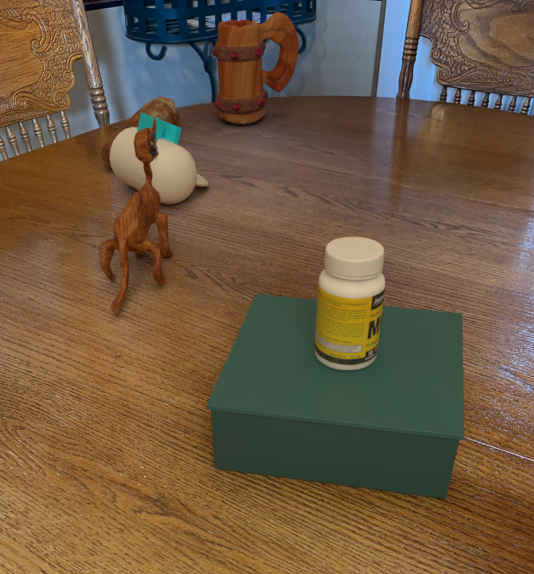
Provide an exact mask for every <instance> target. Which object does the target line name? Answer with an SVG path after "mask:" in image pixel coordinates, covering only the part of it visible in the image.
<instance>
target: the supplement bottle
mask: <svg viewBox="0 0 534 574" xmlns="http://www.w3.org/2000/svg"><path fill="white" fill-rule="evenodd" d="M384 259H385V249H384V246H383V244H381V243H380V242H378V241H377V240H374V239H372V238H367V237H362V236H344V237H339V238H335V239H332V240H331V241H329V242H328V243H327V244H326V245H325V249H324V261H323V264H324V267H323V268H324V269H323V270H321V272H320V274H319V275H318V282H317V299H316V300H317V316H316V333H315V355H316V357H317V359H318V360H319V361H320V362H321V363H322V364H324V365H326V366H328V367H330V368H333V369H338V370H358V369H362V368H365V367H367V366H369V365H370V364H372V363H373V362H374V360H375V359H376V356H377V350H378V343H379V334H380V326H381V318H382V311H383V306H384V300H385V293H386V279H385V278H386V277H385V275H384V273H382V272H383V268H384V265H385V264H384Z"/></svg>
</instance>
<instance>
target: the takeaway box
mask: <svg viewBox="0 0 534 574" xmlns="http://www.w3.org/2000/svg"><path fill="white" fill-rule="evenodd" d="M316 316H317V299H316V298H305V297H295V296H294V297H293V296H283V295H273V294H263V293H262V294H261V293H255V294H254V296H253V299H252V302H251V304H250V306H249V308H248V311H247V313H246V315H245V317H244V320H243V322H242V324H241V327H240V328H239V331H238V333H237V335H236V338H235V339H234V342H233V344H232V347H231V349H230V351H229V354H228V356H227V358H226V359H225V362H224V365H223V367H222V369H221V372H220V373H219V376H218V378H217V380H216V383H215V385H214V387H213V389H212V391H211V394H210V396H209V399H208V400H207V403H206V404H205V405H206V410H207V411H210V421H211V435H212V450H213V451H212V452H213V464H214V465H213V466H214V469H217V470H223V471H232V472H239V473H247V474H253V475H254V474H255V475H262V476H270V477H277V478H284V479H292V480H299V481H307V482H314V483H322V484H323V483H324V484H330V485H338V486H345V487H352V488H360V489H367V490H374V491H381V492H390V493H397V494H403V495H404V494H405V495H412V496H413V495H414V496H421V497H428V498H429V497H430V498H434V499H435V498H436V499H443V500H446V498H447V495H448V491H449V487H450V483H451V478H452V475H453V470H454V465H455V462H456V457H457V452H458V448H459V444H460V441H464V439H465V400H464V399H465V393H464V392H465V390H464V388H465V386H464V385H465V383H464V331H463V330H464V328H463V325H464V324H463V323H464V322H463V313H462V312H453V311H443V310H432V309H422V308H421V309H420V308H411V307H401V306H399V307H398V306H391V305H390V306H389V305H383V311H382V318H381V326H380V334H379V343H378V350H377V356H376V359H375V360H374V362H373V363H372V364H370V365H369V366H367V367H365V368H362V369H358V370H338V369H333V368H330V367H328V366H326V365H324V364H322V363H321V362H320V361H319V360H318V359H317V357H316V355H315V333H316Z"/></svg>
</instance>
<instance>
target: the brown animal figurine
mask: <svg viewBox="0 0 534 574" xmlns="http://www.w3.org/2000/svg"><path fill="white" fill-rule="evenodd" d="M156 142H157V139H156V119H155V118H154V119H153V126H152V128H148V127H146V128H144V129H141V130H139V131H138V132H137V133H136V134H135V137H134V149H135V155H136V157H137V158H138V160H139V161H141V162H143V168H144V172H145V176H146V180H145V184H144V186H143V187H142V188H141V189H140V190H137V191H136V192H133V194H132V195H131V196H130V198H129V199H128V201H127V203H126V205H124V208H123V209H122V211H121V212H120V213H119V215H118V216H117V217H116V218H115V219H114V221H113V226H112V231H113V238H109V239H106V240H104V241H102V242H101V243H100V245H99V247H98V254H99V266H100V269H101V270H102V272H103V274H104V275H105V276H106V278H107V280H109V281H110V282H111V283H113V282H114V281H115V279H116V274H115V273H113V271H112V268H111V262H112V259H113V257H114V253H115V251H119V252H118V253H119V261H120V283H119V286H118V287H119V289H118V291H117V294H116V296H115V298H114V300H113V302H112V304H111V306H110V311H111V312H115V313H116V312H118V310H119V309H120V308H121V306H122V305H123V303H124V301H125V299H126V296H127V294H128V289H129V282H130V281H129V280H130V258H129V252H131V253H134V255H136V256H139V257H142V256H144V255H145V254H146V253H147V252H148V253H151V254H152V255H151V256H152V276H153V278H154V280H155V281H156V284H157V285H158V286H160V285H162V284H163V283H164V282H165V281H166V276H165V275H164V271H163V268H162V262H163V258H169V257H172V255H173V254H174V253H173V251H171V248H170V240H169V238H170V237H169V225H168V224H169V223H168V221H169V220H168V219H169V214H167V213H165V212H160V207H161V206H160V205H161V202H160V199H161V198H160V194H159V192H158V191H157V190H156V189H155V188H154V187H153V186H152V177H153V174H152V170H151V167H150V163H151V162H152V161H153V160H154V159H156V158H157V155H158V154H159V153H158V151H157V145H156ZM154 224H155V225H156V228H157V231H158V242H156V241H153V240H152V239H149V238H148V234H149V231H150V230H151V227H152V225H154Z"/></svg>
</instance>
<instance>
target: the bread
mask: <svg viewBox="0 0 534 574" xmlns="http://www.w3.org/2000/svg"><path fill="white" fill-rule="evenodd" d="M141 112H142V113H145V114H147V115H149V116H151V117H154V118H161V120H162V121H165V122H167V123H170V124H172V125H175V126H178V127H180V121H181V120H180V119H181V118H180V114H179V112H178V109H177V107H176V102H175V101H174V99H172V98H171V97H170V98H169V97H165V96H157V97H156V98H153V99H152V100H150V101H148V102H146V103H145V104H143V105H142V106H141V107H140V108H139V109H138V110H137V111H135V113H134V114H133V115H131V117H129V118H128V119H127V120H126V121H125V122H124V123H123V124H122V125H121V126H120V127H119V128H118V129H117V130H115V132H114V133H113V134H112V135H111V136H110V137H109V138H108V140H106V142H105V143H104V144H103V145H102V147H101V150H100V151H101V152H100V157H101V159H102V161H103V163H104V164H105V165H106V166H108V168H111V163H110V149H111V146H112V144H113V141H114V140H115V138H116V137H117V135H118V134H119V133H121V132H122V131H123V130H125V129H127V128H131V127H138V124H139V120H140V115H141Z"/></svg>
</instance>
